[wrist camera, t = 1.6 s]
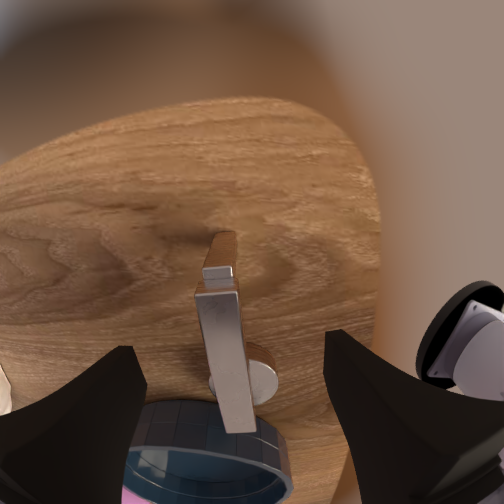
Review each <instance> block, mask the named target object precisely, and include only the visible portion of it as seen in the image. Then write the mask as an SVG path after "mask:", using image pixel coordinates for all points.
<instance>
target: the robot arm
mask: <svg viewBox="0 0 504 504" xmlns="http://www.w3.org/2000/svg"><path fill="white" fill-rule="evenodd" d="M323 375H324V379H325V383H326V387H327V391H328V394H329V397H330V400H331V402H332V405H333V407H334V410H335V412H336V415H337V417H338V419H339V422H340V424H341V427H342V429H343V432H344V434H345V437H346V439H347V442H348V445H349V448H350V451H351V455H352V459H353V463H354V466H355V471H356V475H357V480H358V484H359V489H360V495H361V500H362V504H504V313H502V312H500V311H498V310H495V309H493V308H491V307H488V306H486V305H484V304H481V303H479V302H477V301H474V300H470V301H469V302H468V303H467V305H466V307H465V309H464V311H463V313H462V315H461V317H460V319H459V320H458V322H457V324H456V326H455V328H454V329H453V331H452V333H451V335H450V336H449V338H448V340H447V341H446V343H445V345H444V346H443V348H442V350H441V351H440V353H439V354H438V356H437V358H436V359H435V361H434V362H433V364H432V365H431V367H430V368H429V370H428V371H427V375H428V376H429V377H440V378H451V379H452V380H453V381H454V382H455V384H456V385H457V386H458V387H459V388H460V390H461V391H462V392H463V393H464V395H461V394H458V393H454V392H450V391H447V390H444V389H442V388H439V387H436V386H433V385H431V384H428V383H426V382H424V381H421V380H419V379H417V378H415V377H413V376H411V375H409V374H407V373H405V372H403V371H401V370H400V369H398V368H396V367H394V366H393V365H391V364H390V363H388V362H386V361H385V360H383V359H382V358H380V357H379V356H377V355H376V354H374V353H373V352H372V351H370V350H369V349H367V348H366V347H365V346H363V345H362V344H361V343H359V342H358V341H357V340H355V339H354V338H353V337H351V336H350V335H349V334H347V333H346V332H345V331H343V330H342V329H339V330H333V331H327V332H325V352H324V367H323ZM146 390H147V382H146V380H145V378H144V375H143V373H142V370H141V367H140V365H139V362H138V360H137V357H136V354H135V352H134V349H133V346H118V347H116V348H114V349H113V350H112V351H110V352H109V353H108V354H106V355H105V356H104V357H102V358H101V359H100V360H98V361H97V362H96V363H95V364H93V365H92V366H91V367H89V368H88V369H87V370H86V371H84V372H83V373H82V374H80V375H79V376H77V377H76V378H75V379H73V380H72V381H70V382H69V383H68V384H66V385H65V386H63V387H62V388H60V389H59V390H57V391H55V392H54V393H52V394H50V395H49V396H47V397H45V398H43V399H41V400H39V401H37V402H35V403H33V404H31V405H28V406H26V407H24V408H22V409H19V410H16V411H13V412H11V413H7V414H4V415H1V416H0V504H122V489H123V480H124V473H125V466H126V460H127V456H128V452H129V448H130V445H131V442H132V439H133V436H134V433H135V430H136V427H137V424H138V421H139V418H140V415H141V412H142V409H143V406H144V401H145V396H146Z"/></svg>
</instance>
